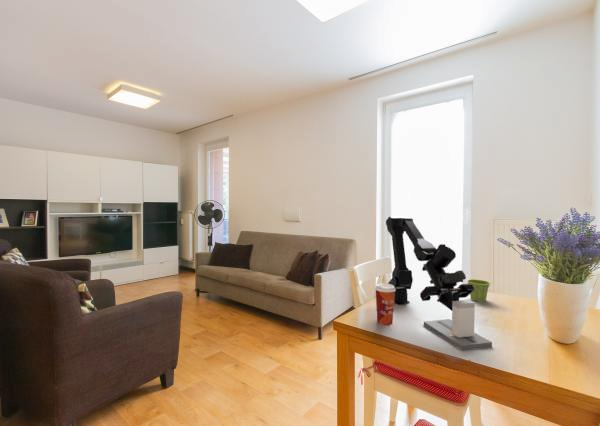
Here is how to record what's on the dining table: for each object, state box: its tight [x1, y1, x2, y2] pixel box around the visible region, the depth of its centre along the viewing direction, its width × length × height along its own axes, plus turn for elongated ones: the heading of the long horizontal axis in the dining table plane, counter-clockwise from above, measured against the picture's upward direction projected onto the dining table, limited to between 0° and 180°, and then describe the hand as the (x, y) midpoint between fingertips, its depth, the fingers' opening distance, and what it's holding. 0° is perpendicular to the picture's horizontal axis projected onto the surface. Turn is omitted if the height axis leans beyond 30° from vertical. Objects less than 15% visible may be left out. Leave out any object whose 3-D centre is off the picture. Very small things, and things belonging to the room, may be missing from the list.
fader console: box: [423, 318, 493, 352], centre depth 101 cm, size 19×11×2 cm, turn 13°
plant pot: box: [466, 278, 491, 303], centre depth 138 cm, size 9×9×9 cm
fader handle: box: [451, 299, 476, 338], centre depth 98 cm, size 3×6×11 cm, turn 103°
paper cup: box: [374, 283, 396, 326], centre depth 113 cm, size 8×8×14 cm
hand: (459, 314), depth 99 cm, fingers closed, pressing on fader handle
